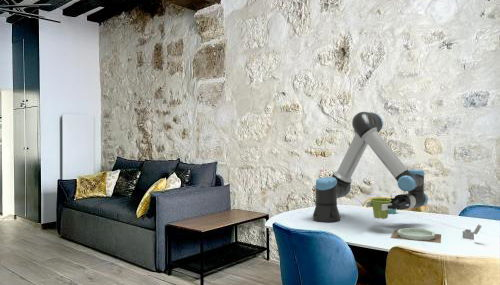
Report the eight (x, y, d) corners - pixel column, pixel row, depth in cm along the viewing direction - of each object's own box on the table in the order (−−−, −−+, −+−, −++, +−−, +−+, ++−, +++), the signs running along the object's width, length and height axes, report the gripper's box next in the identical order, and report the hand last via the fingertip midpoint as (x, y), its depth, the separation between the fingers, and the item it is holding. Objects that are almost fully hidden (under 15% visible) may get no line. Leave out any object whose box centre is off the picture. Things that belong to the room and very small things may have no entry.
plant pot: (380, 220, 177) (381, 201, 177) (366, 216, 186) (366, 198, 186) (395, 218, 182) (395, 200, 182) (380, 214, 190) (380, 197, 190)
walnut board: (390, 241, 170) (390, 237, 170) (394, 233, 184) (394, 230, 184) (440, 246, 160) (440, 243, 160) (441, 237, 175) (441, 234, 175)
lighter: (462, 241, 168) (462, 223, 168) (463, 240, 170) (463, 222, 169) (481, 244, 164) (481, 225, 164) (481, 243, 165) (481, 224, 165)
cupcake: (399, 214, 229) (399, 194, 229) (384, 213, 230) (384, 193, 230) (397, 211, 237) (396, 192, 237) (382, 211, 239) (382, 192, 239)
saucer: (396, 238, 169) (396, 234, 169) (400, 230, 182) (400, 227, 182) (434, 242, 162) (434, 237, 162) (435, 234, 175) (435, 230, 175)
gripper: (423, 212, 185) (393, 218, 172) (386, 205, 202) (356, 210, 190) (423, 197, 184) (393, 201, 172) (386, 191, 202) (356, 195, 190)
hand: (374, 206), depth 181 cm, fingers closed on plant pot, 8 cm apart
